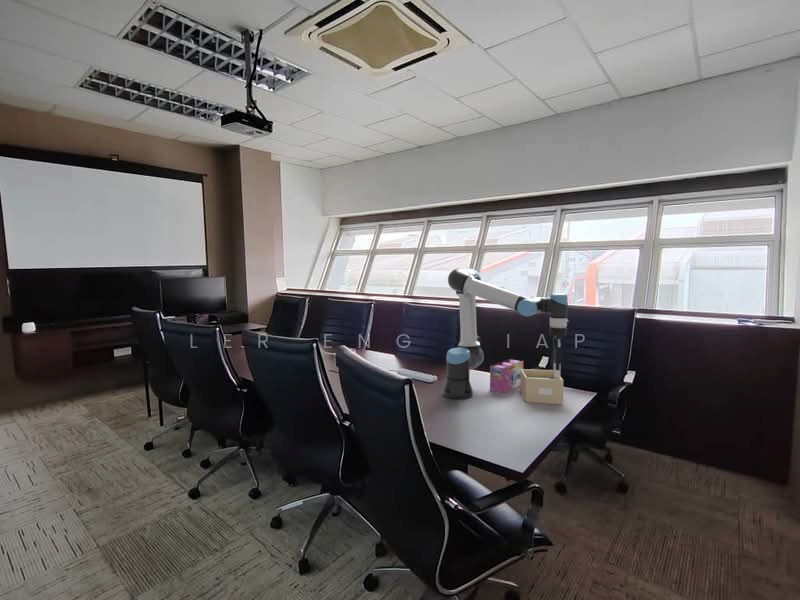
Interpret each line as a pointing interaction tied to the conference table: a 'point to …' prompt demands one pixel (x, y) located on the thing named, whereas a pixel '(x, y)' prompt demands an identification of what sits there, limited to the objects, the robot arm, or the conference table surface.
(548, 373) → the carton
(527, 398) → the front flap
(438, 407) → the conference table surface
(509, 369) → the gum box
